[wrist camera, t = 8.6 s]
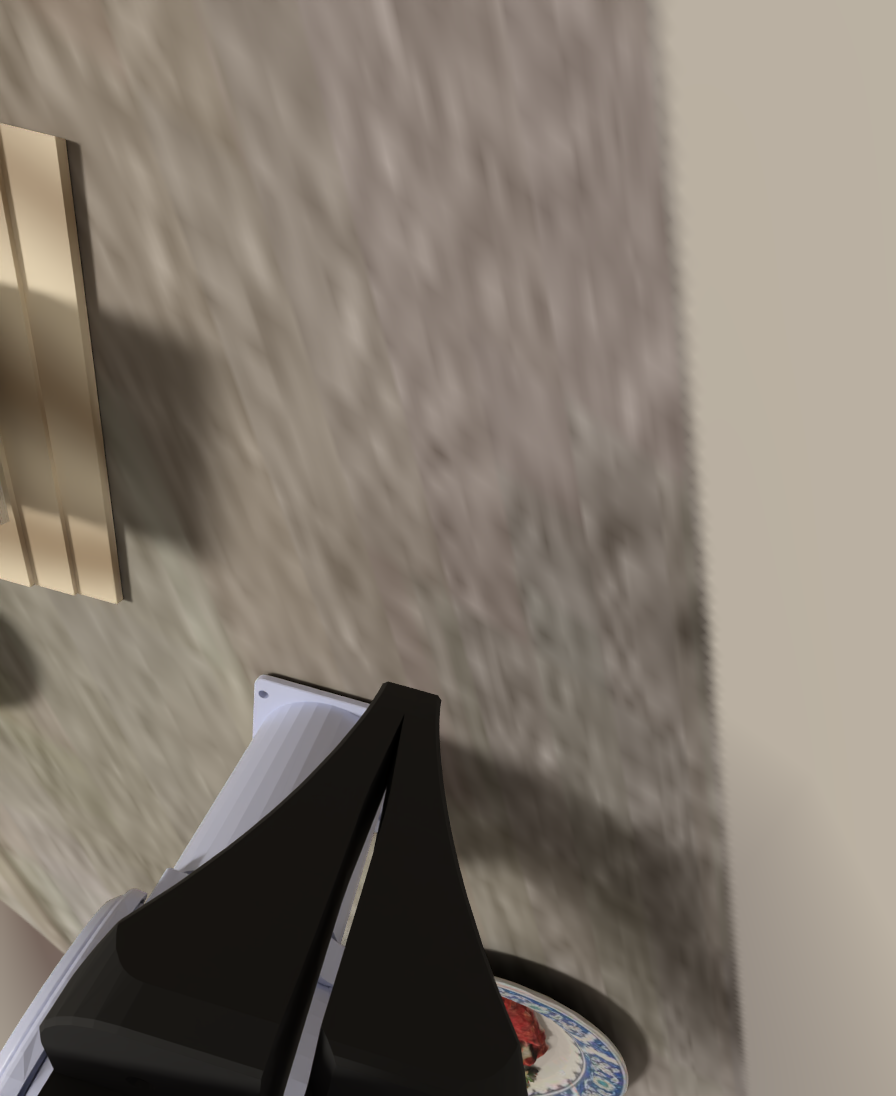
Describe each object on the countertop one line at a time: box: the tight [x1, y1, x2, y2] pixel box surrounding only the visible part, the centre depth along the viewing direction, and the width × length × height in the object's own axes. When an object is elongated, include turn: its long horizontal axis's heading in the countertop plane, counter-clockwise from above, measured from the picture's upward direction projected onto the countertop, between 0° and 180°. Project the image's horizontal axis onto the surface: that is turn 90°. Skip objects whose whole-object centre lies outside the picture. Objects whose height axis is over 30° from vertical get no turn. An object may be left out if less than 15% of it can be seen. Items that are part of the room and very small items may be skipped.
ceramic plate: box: [494, 976, 628, 1096], centre depth 40 cm, size 26×26×3 cm
